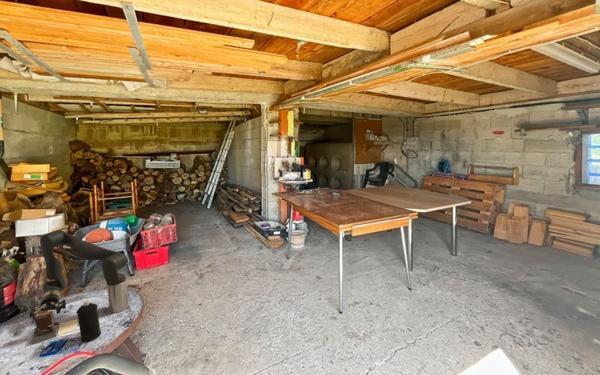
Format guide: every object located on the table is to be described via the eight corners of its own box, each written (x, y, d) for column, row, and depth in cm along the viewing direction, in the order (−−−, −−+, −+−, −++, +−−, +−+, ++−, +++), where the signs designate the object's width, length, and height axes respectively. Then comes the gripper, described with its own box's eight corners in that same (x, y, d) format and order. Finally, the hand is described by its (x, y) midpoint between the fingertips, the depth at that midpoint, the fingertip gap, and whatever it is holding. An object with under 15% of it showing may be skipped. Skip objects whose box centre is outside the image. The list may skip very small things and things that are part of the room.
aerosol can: (105, 332, 138) (100, 298, 134) (88, 344, 131) (82, 308, 127) (93, 328, 141) (89, 294, 137) (76, 339, 133) (70, 304, 129)
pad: (78, 318, 148) (78, 318, 148) (76, 329, 140) (76, 329, 140) (59, 324, 143) (59, 324, 143) (57, 335, 135) (57, 335, 135)
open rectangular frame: (58, 324, 143) (57, 319, 143) (56, 336, 135) (55, 331, 134) (35, 331, 138) (34, 325, 137) (31, 344, 129) (30, 339, 129)
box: (38, 338, 133) (33, 317, 131) (40, 332, 137) (36, 312, 134) (54, 334, 136) (50, 313, 134) (56, 328, 140) (52, 308, 138)
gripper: (32, 298, 147) (26, 314, 134) (66, 289, 155) (63, 304, 143) (34, 310, 148) (28, 327, 136) (68, 301, 157) (65, 317, 144)
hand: (46, 315), depth 139 cm, fingers open, 8 cm apart
